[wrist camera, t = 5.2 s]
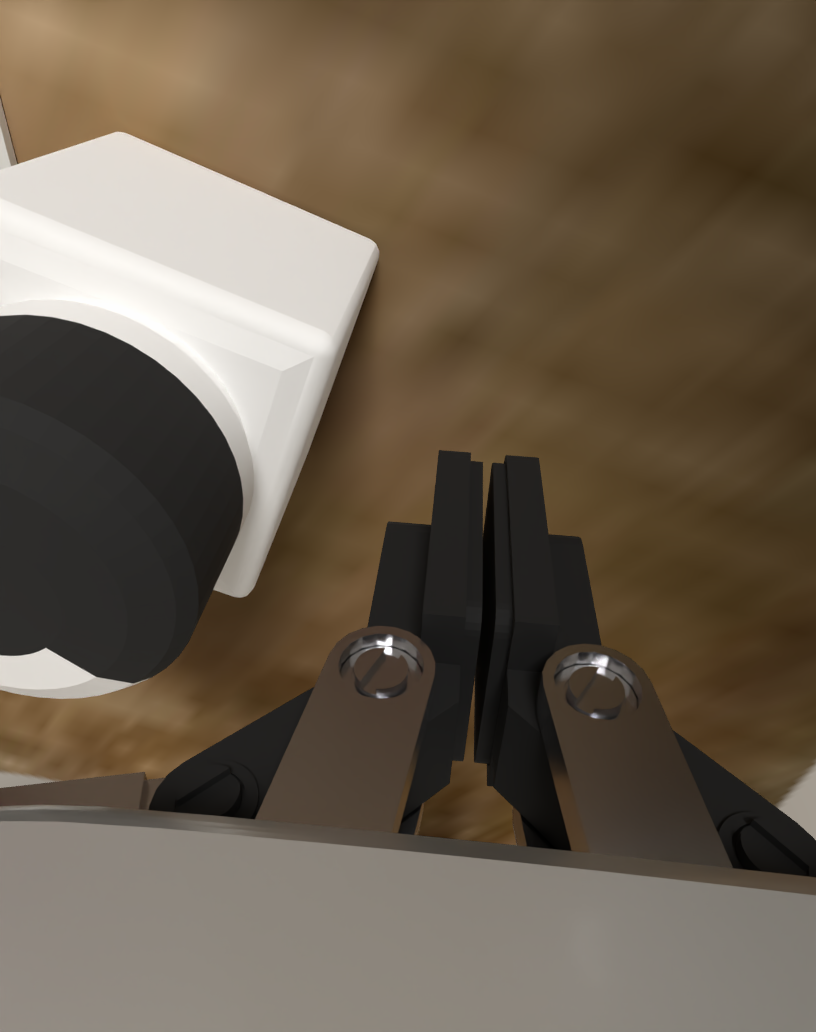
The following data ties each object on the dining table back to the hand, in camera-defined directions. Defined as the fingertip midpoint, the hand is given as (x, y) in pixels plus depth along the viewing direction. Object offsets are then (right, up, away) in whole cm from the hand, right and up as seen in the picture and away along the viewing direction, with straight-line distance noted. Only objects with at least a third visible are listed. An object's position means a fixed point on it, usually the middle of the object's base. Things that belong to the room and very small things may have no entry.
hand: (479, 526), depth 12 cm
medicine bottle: (-6, +6, +8) cm, 12 cm away
